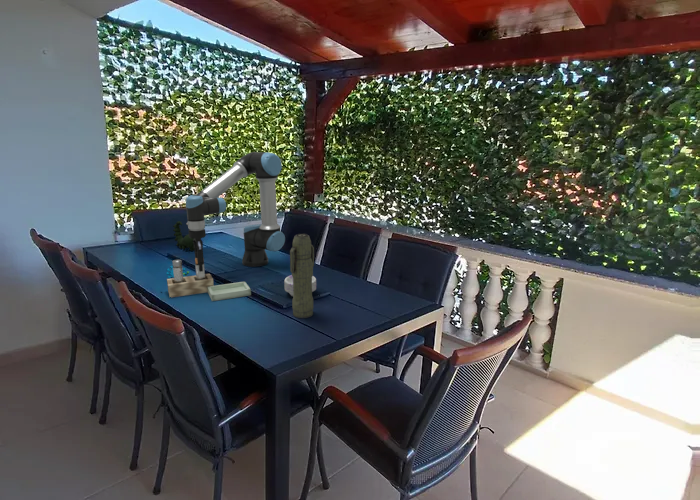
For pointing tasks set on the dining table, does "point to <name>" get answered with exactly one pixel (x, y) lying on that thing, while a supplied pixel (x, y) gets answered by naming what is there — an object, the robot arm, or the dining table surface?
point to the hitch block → (189, 286)
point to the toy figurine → (181, 241)
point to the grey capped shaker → (178, 271)
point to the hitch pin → (197, 271)
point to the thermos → (302, 275)
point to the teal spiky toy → (173, 272)
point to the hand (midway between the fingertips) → (200, 275)
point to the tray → (228, 291)
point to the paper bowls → (289, 284)
